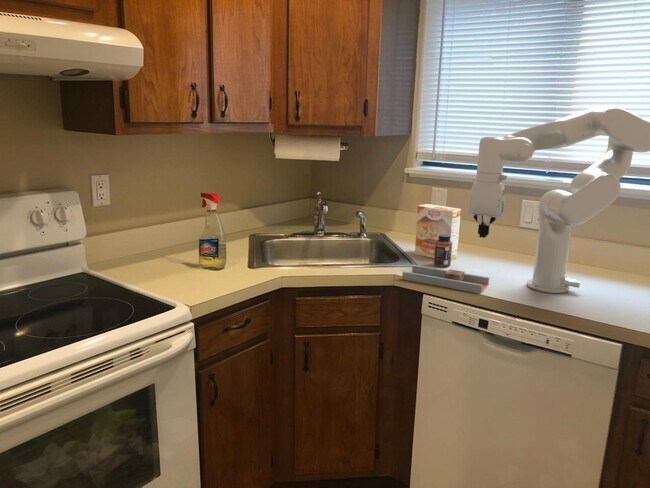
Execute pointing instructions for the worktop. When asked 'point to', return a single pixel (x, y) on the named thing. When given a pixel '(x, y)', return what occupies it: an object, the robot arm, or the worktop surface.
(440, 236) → the supplement bottle
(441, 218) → the coffeecake box
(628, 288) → the worktop surface
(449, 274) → the walnut block
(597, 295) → the worktop surface
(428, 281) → the channel
